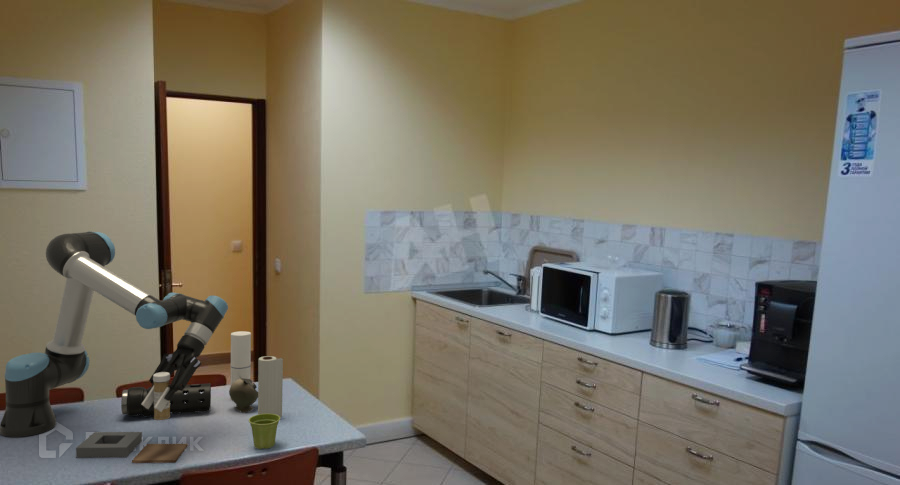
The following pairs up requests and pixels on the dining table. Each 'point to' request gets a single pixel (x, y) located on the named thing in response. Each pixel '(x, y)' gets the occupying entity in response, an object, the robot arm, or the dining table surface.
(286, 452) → the dining table surface
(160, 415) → the sprinkles bottle
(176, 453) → the pad
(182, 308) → the robot arm
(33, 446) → the dining table surface
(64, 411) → the dining table surface
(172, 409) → the muzzle brake
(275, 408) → the paper towel roll
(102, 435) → the frame
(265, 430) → the plant pot
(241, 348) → the cylindrical container
